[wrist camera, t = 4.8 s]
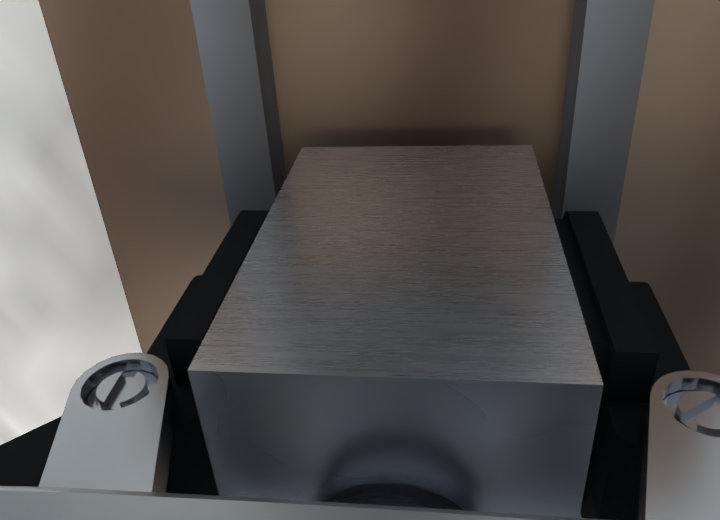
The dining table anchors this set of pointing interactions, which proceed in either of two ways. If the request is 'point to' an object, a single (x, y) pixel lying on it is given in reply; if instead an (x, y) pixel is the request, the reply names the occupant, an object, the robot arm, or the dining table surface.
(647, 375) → the robot arm
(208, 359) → the grey sliding block
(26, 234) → the dining table surface
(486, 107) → the bolt plate
